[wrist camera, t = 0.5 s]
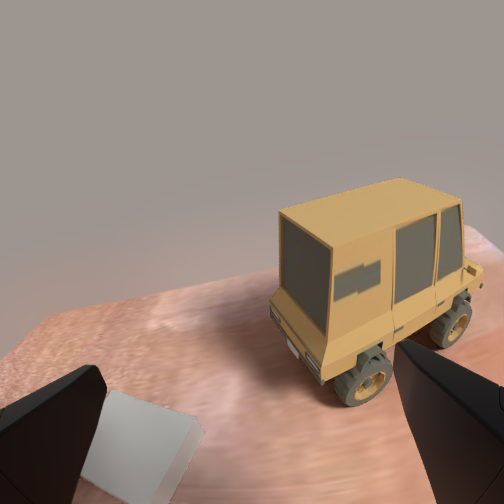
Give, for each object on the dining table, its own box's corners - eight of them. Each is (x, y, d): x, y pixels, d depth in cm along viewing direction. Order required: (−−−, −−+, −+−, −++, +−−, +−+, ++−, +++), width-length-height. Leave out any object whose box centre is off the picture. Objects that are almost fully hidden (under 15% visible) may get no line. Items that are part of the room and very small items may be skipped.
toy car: (474, 331, 26) (506, 194, 19) (324, 429, 22) (321, 272, 15) (413, 286, 35) (422, 165, 28) (273, 352, 31) (247, 210, 24)
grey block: (161, 521, 16) (144, 511, 15) (79, 476, 19) (60, 461, 18) (206, 434, 23) (196, 416, 22) (126, 407, 26) (112, 389, 25)
